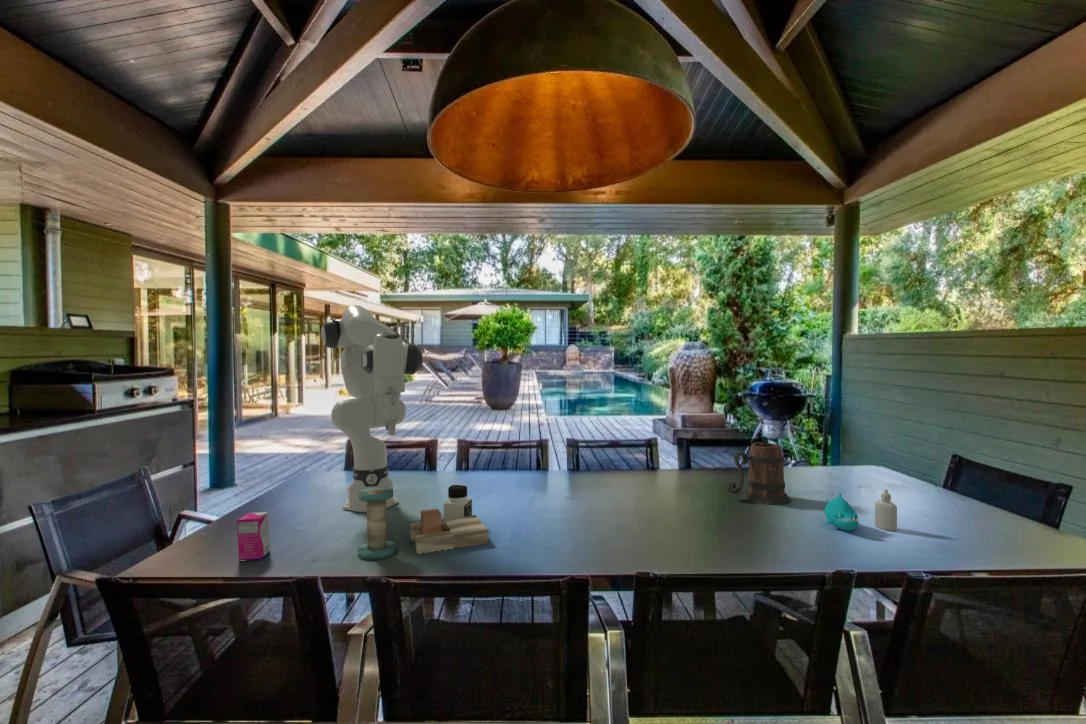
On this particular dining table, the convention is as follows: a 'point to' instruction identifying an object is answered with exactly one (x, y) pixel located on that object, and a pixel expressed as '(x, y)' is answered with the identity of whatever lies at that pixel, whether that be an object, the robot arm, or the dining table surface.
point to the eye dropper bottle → (886, 513)
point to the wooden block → (430, 521)
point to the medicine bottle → (457, 502)
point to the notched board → (450, 535)
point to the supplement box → (253, 536)
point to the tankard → (762, 475)
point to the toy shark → (841, 514)
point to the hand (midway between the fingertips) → (390, 432)
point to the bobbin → (376, 524)
